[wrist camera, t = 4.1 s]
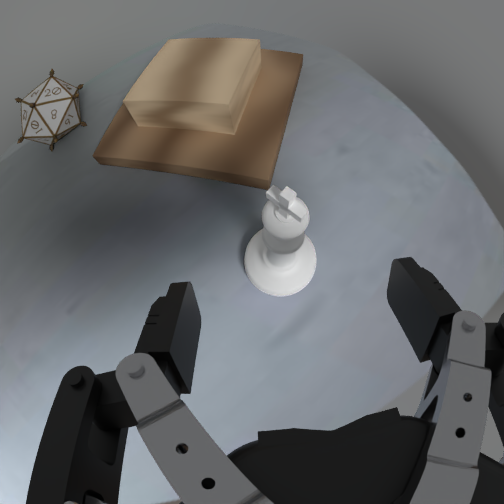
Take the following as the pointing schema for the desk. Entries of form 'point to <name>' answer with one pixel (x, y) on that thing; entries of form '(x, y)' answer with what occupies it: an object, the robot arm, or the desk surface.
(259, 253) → the chess piece
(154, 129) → the walnut base
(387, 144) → the desk surface
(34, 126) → the game die
